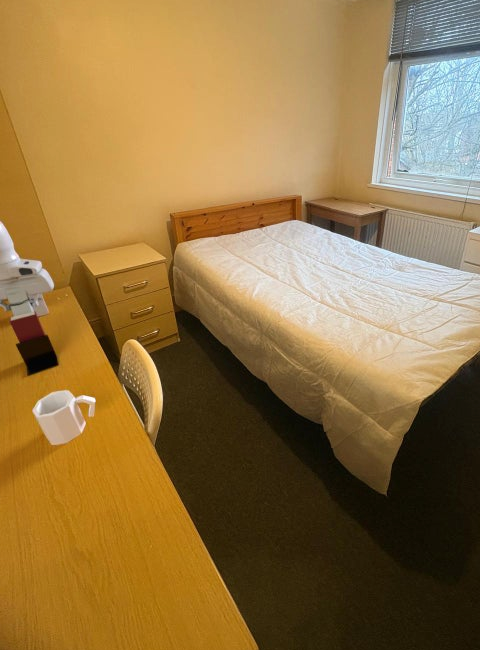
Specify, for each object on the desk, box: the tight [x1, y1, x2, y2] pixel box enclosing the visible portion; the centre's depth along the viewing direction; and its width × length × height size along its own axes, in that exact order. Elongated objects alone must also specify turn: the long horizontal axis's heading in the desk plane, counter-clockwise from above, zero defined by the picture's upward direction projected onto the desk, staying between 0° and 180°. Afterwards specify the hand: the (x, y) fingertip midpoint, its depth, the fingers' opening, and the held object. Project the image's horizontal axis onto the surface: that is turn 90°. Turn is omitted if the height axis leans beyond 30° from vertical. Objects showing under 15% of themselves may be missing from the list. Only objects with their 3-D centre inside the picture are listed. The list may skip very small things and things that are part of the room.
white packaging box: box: [29, 293, 50, 318], centre depth 127 cm, size 7×7×13 cm
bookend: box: [15, 334, 60, 377], centre depth 100 cm, size 6×8×9 cm
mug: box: [31, 389, 96, 446], centre depth 80 cm, size 12×9×10 cm
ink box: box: [5, 287, 34, 317], centre depth 103 cm, size 9×5×12 cm, turn 40°
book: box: [9, 311, 47, 343], centre depth 102 cm, size 16×6×3 cm
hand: (22, 307), depth 104 cm, fingers closed on ink box, 6 cm apart
